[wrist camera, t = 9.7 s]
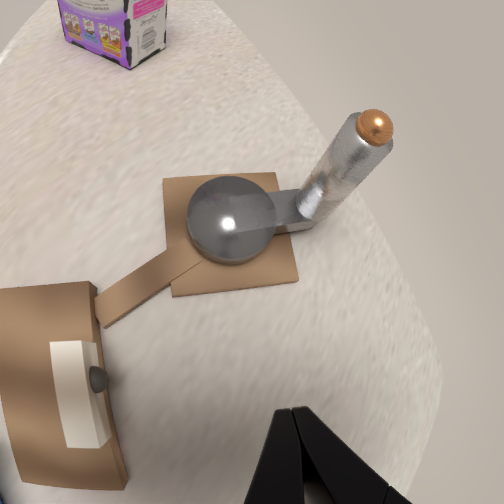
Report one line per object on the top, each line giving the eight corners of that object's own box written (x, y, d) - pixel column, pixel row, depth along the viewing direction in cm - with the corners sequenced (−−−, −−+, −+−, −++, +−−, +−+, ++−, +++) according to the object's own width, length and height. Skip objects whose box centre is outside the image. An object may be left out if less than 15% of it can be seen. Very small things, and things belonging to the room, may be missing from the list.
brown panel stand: (325, 446, 20) (358, 463, 15) (32, 474, 14) (3, 494, 10) (273, 176, 26) (291, 139, 21) (13, 202, 20) (-13, 172, 16)
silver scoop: (195, 272, 21) (208, 182, 10) (180, 192, 22) (185, 69, 12) (333, 246, 24) (429, 167, 13) (310, 177, 25) (378, 78, 15)
